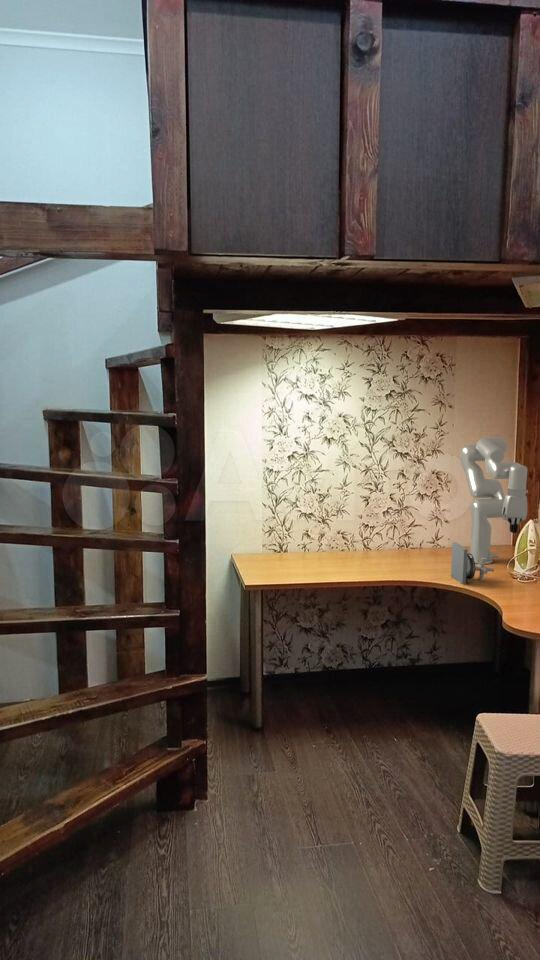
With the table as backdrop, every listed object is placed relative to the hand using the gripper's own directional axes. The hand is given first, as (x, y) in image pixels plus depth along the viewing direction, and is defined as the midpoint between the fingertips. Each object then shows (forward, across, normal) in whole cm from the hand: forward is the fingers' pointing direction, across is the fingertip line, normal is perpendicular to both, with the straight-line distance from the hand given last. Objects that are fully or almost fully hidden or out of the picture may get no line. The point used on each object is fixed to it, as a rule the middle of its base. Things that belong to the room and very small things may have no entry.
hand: (513, 532), depth 297 cm
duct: (+21, +22, +1) cm, 31 cm away
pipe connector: (+22, +14, +2) cm, 26 cm away
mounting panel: (+22, +23, +1) cm, 32 cm away
